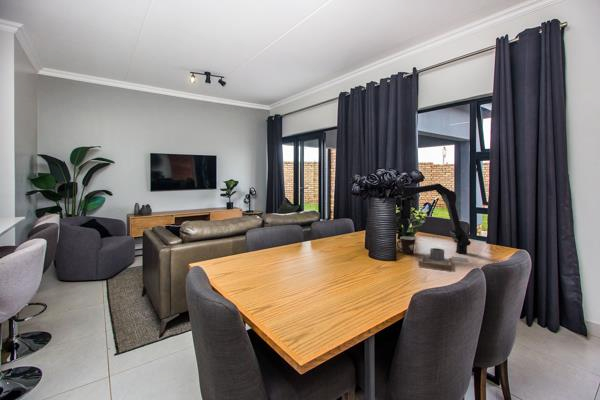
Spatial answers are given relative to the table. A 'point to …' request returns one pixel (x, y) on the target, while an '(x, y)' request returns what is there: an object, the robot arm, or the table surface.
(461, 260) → the felt coaster
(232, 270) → the table surface
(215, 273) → the table surface
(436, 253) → the tumbler
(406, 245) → the coffee mug
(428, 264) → the corral
